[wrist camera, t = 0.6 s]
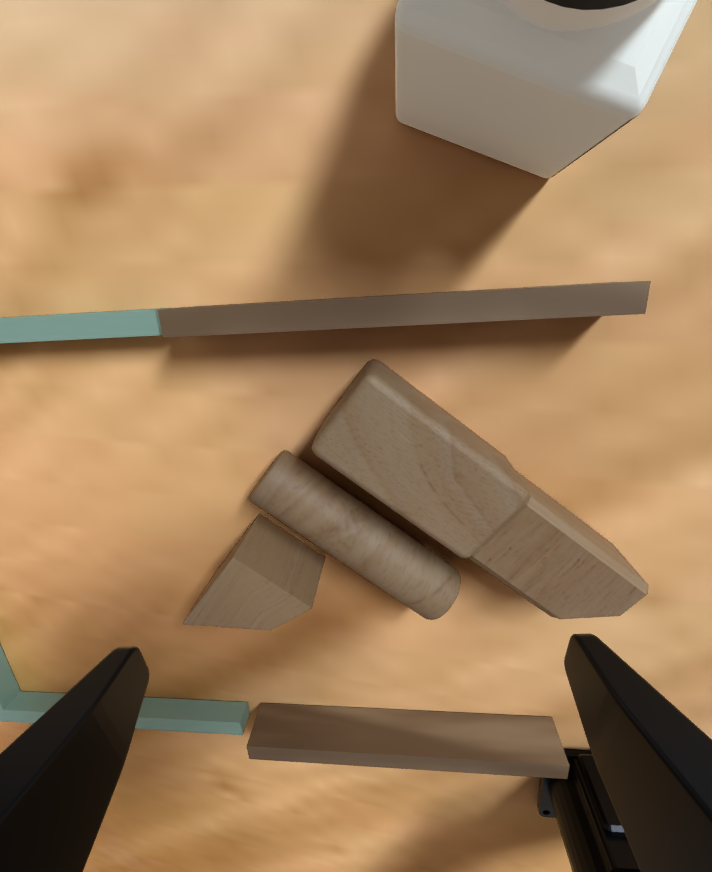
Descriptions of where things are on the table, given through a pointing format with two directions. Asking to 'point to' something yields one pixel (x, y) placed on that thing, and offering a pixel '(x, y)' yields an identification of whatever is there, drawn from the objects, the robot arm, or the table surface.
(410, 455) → the wooden block set
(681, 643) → the table surface
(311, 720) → the pair of brown bars
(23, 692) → the frame
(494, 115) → the medicine bottle
